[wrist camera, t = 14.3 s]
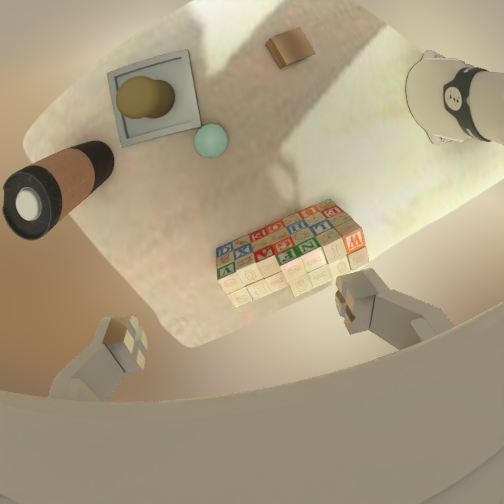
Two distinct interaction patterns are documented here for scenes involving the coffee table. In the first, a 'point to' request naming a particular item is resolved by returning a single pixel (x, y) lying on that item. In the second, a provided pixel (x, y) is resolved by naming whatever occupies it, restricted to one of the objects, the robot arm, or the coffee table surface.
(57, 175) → the travel mug
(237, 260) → the stack of blocks
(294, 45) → the walnut cube
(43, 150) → the coffee table surface
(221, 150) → the teal cylinder
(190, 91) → the tray
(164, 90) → the olive brown pawn
